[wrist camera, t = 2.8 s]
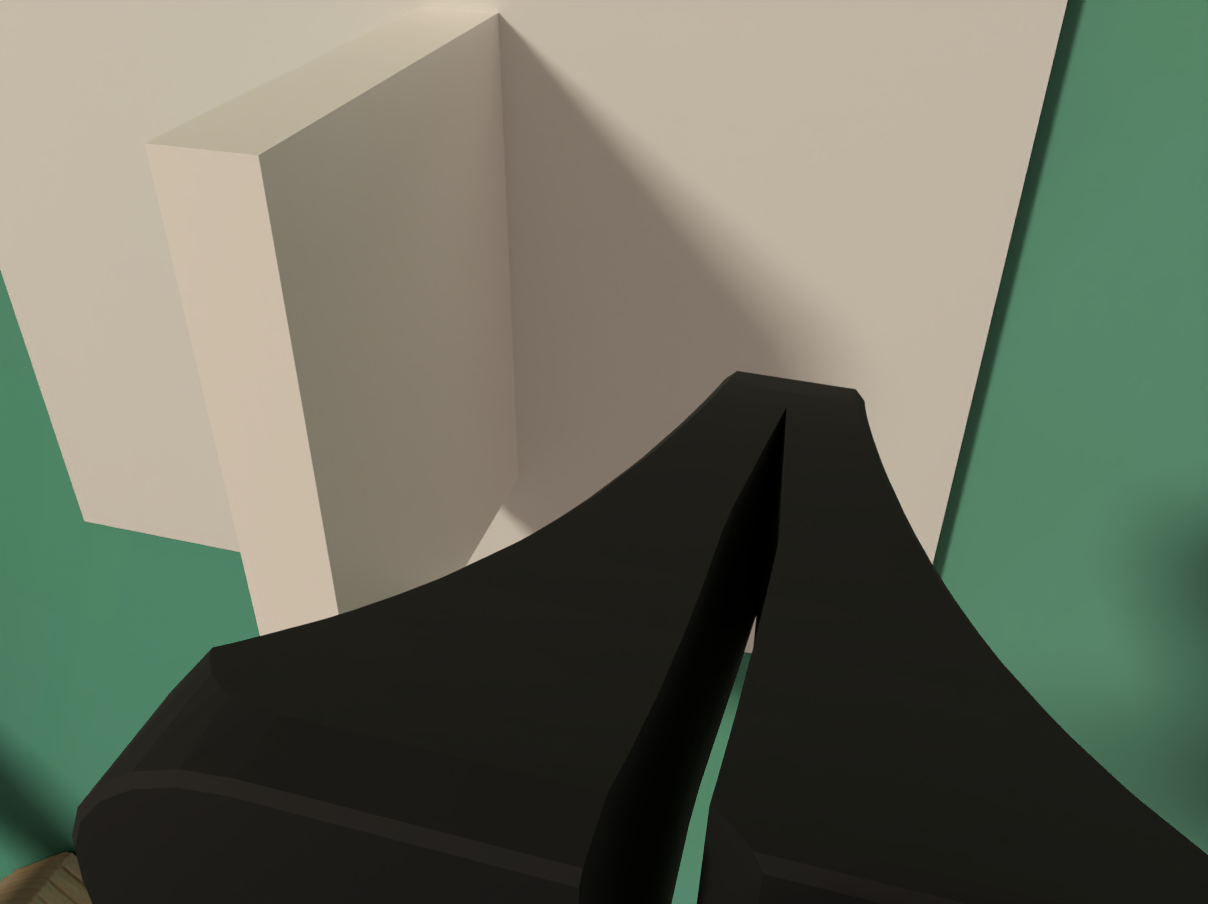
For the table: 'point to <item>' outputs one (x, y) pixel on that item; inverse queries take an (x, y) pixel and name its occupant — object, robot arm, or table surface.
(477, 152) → the tile
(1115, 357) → the table surface
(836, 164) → the mat
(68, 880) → the toy bridge
